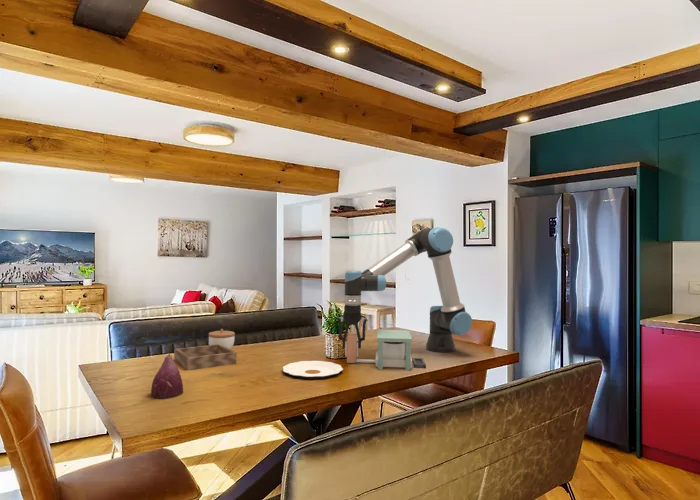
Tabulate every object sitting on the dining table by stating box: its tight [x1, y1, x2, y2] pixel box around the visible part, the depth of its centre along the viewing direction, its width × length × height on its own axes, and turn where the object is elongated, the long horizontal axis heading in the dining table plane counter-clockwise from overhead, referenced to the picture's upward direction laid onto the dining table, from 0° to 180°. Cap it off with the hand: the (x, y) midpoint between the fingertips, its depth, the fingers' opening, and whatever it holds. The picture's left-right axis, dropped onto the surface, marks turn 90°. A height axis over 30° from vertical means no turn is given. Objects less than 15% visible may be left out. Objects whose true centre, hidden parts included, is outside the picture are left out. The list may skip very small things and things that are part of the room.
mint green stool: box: [376, 329, 413, 371], centre depth 207 cm, size 15×21×14 cm
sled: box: [346, 333, 413, 369], centre depth 208 cm, size 29×16×12 cm, turn 86°
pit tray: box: [411, 357, 427, 369], centre depth 206 cm, size 5×12×2 cm, turn 176°
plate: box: [282, 360, 344, 379], centre depth 191 cm, size 25×25×2 cm
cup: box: [383, 342, 405, 360], centre depth 207 cm, size 10×10×10 cm
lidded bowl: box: [208, 328, 236, 350], centre depth 227 cm, size 13×13×11 cm
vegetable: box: [150, 353, 184, 400], centre depth 160 cm, size 10×10×15 cm
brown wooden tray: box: [173, 344, 237, 371], centre depth 205 cm, size 21×21×5 cm
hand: (351, 355), depth 208 cm, fingers open, 4 cm apart
